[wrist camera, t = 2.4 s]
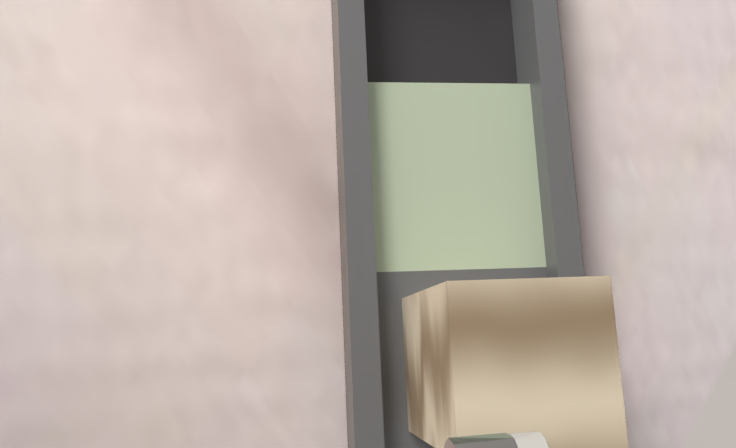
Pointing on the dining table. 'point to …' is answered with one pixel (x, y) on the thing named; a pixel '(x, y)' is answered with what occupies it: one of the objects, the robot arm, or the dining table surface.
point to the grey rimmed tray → (442, 172)
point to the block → (515, 361)
